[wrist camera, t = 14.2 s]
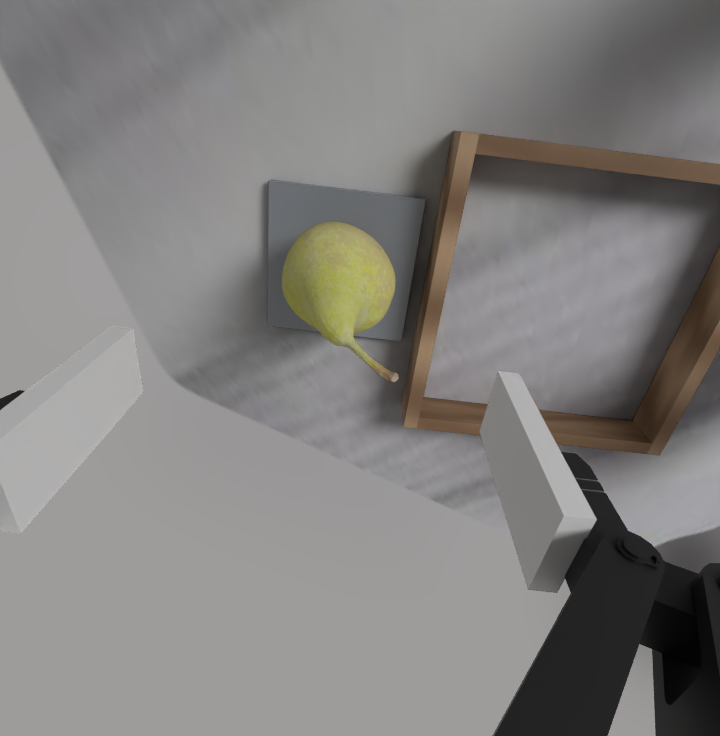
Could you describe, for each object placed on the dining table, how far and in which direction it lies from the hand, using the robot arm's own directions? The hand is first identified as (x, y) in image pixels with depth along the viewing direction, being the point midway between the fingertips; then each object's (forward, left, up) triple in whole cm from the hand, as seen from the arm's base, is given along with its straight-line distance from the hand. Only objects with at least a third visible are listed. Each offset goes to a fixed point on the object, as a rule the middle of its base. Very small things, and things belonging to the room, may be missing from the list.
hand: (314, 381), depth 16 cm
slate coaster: (0, 0, -17) cm, 17 cm away
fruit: (0, 0, -16) cm, 16 cm away
